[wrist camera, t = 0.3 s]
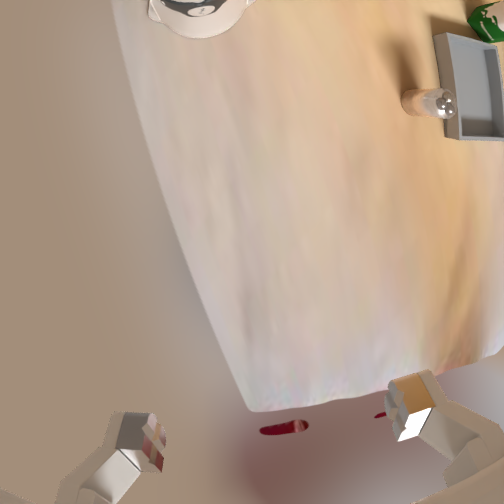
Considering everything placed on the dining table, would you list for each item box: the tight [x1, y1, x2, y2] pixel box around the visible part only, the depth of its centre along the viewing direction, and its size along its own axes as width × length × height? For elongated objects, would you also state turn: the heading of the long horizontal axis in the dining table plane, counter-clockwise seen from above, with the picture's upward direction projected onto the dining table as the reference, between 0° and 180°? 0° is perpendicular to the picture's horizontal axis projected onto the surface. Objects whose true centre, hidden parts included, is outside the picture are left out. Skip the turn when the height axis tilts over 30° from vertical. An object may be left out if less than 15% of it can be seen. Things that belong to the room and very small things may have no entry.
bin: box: [433, 32, 504, 141], centre depth 44 cm, size 22×16×5 cm
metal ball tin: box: [401, 88, 457, 119], centre depth 43 cm, size 5×5×12 cm
